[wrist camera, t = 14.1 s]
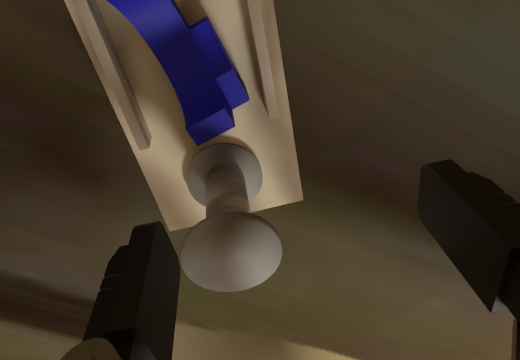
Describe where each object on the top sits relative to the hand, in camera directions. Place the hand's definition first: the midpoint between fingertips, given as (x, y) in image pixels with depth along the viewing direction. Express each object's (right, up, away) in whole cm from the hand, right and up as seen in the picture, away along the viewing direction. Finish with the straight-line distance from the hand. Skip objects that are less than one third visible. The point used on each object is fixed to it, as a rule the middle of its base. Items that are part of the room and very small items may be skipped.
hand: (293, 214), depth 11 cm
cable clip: (-7, +12, +15) cm, 21 cm away
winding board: (-6, +9, +19) cm, 22 cm away
